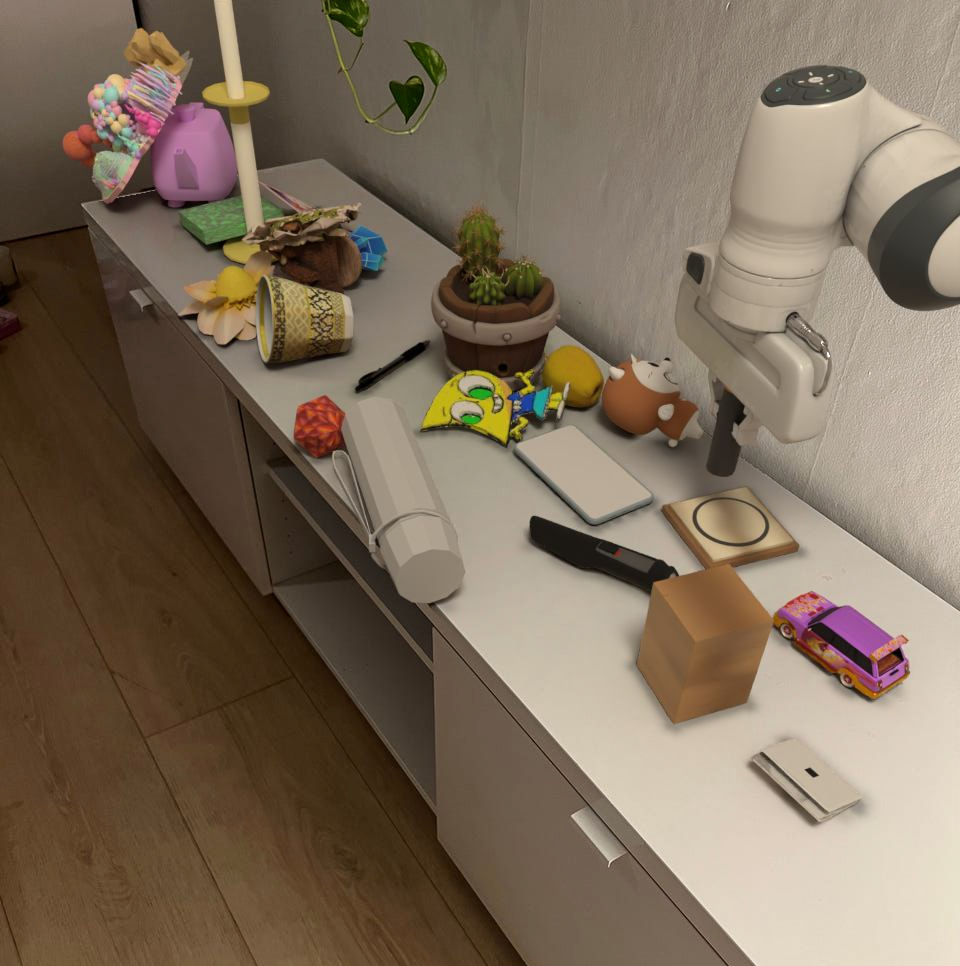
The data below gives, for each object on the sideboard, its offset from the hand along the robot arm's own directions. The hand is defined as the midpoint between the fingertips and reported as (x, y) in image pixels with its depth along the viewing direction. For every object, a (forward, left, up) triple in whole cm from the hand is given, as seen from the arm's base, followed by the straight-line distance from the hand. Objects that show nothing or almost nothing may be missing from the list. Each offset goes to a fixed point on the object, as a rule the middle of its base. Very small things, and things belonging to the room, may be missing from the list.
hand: (730, 428), depth 93 cm
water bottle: (+30, -22, -7) cm, 38 cm away
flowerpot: (+11, -32, -11) cm, 36 cm away
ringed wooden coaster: (-1, +2, -11) cm, 12 cm away
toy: (+8, -19, -9) cm, 22 cm away
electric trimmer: (+13, +3, -12) cm, 18 cm away
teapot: (+36, -95, -12) cm, 102 cm away
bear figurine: (+28, -60, -1) cm, 66 cm away
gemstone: (+24, -60, -7) cm, 65 cm away
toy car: (-2, +20, -12) cm, 23 cm away
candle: (+31, -74, -11) cm, 81 cm away
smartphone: (+9, -11, -11) cm, 18 cm away
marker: (0, 0, -5) cm, 5 cm away
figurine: (-5, -11, -9) cm, 15 cm away
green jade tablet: (+33, -81, -8) cm, 88 cm away
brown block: (+12, +19, -11) cm, 25 cm away
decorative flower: (+35, -53, -6) cm, 64 cm away
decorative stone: (+33, -21, -7) cm, 40 cm away
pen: (+22, -38, -10) cm, 45 cm away
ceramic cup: (+26, -46, -9) cm, 53 cm away
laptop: (+9, +31, -12) cm, 35 cm away
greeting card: (+26, -84, -11) cm, 89 cm away
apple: (+2, -22, -9) cm, 24 cm away
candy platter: (+41, -97, -2) cm, 105 cm away
